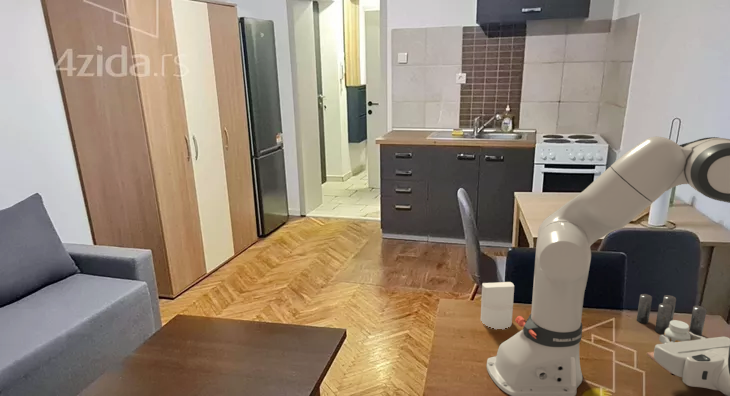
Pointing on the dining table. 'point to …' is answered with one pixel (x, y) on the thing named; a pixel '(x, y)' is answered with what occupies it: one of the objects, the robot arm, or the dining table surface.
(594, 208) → the robot arm
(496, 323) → the cylinder with rectangular tab
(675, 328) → the supplement bottle
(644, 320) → the posts
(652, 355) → the terracotta tile
